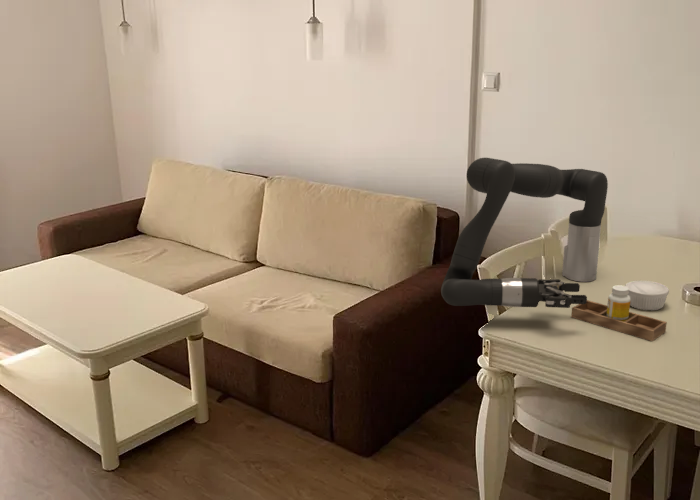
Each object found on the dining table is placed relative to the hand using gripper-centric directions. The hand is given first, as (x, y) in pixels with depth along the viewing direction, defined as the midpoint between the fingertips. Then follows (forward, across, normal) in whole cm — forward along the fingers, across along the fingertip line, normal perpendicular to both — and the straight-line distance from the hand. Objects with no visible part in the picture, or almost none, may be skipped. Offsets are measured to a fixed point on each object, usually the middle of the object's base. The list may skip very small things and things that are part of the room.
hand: (582, 293), depth 184 cm
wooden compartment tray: (+9, 0, +8) cm, 13 cm away
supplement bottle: (+9, 0, +8) cm, 12 cm away
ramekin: (+20, +14, +9) cm, 26 cm away
